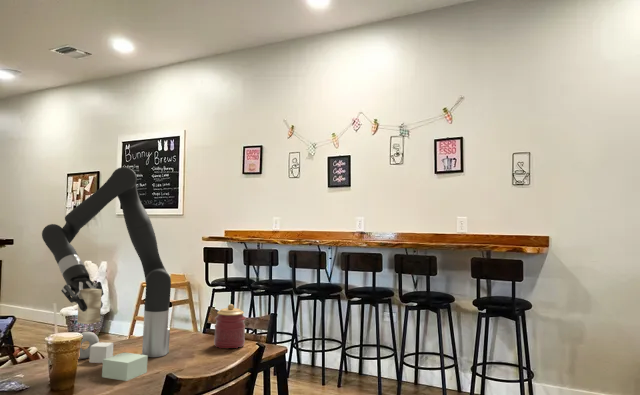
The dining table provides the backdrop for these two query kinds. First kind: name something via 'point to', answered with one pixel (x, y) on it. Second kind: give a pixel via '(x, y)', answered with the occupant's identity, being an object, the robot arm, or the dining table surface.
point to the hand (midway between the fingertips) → (93, 308)
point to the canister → (229, 328)
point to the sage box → (124, 366)
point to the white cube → (100, 352)
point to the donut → (92, 340)
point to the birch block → (90, 306)
